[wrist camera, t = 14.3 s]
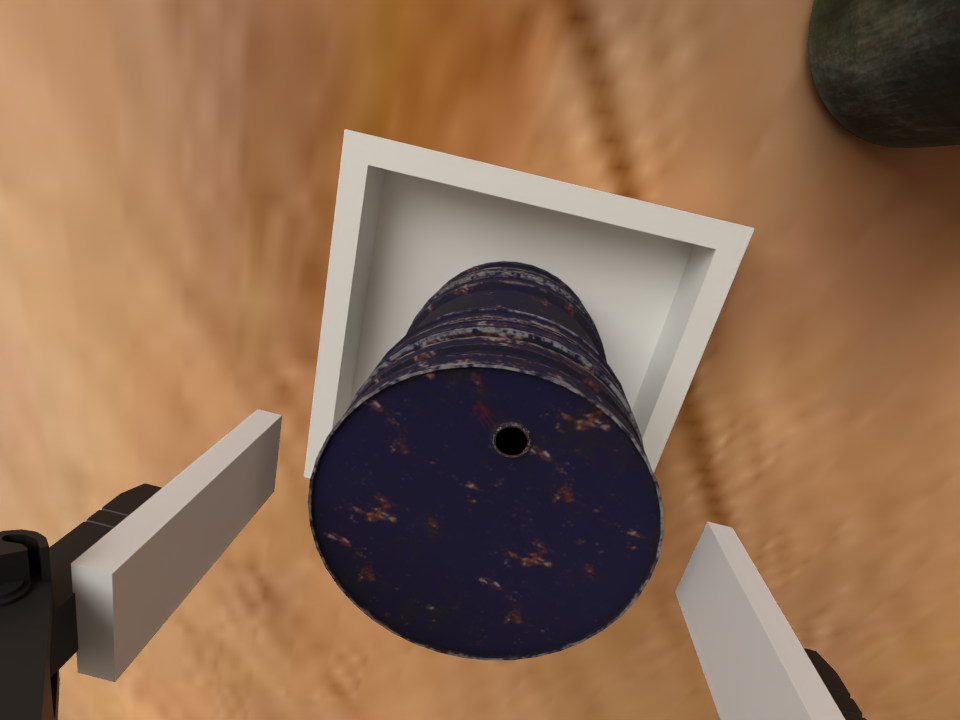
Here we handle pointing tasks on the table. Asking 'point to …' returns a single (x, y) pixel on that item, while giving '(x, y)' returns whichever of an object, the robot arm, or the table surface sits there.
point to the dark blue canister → (490, 476)
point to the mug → (889, 68)
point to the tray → (517, 238)
